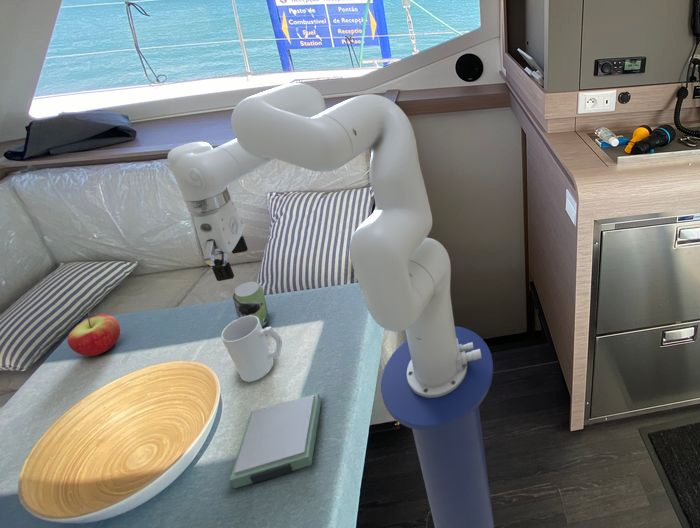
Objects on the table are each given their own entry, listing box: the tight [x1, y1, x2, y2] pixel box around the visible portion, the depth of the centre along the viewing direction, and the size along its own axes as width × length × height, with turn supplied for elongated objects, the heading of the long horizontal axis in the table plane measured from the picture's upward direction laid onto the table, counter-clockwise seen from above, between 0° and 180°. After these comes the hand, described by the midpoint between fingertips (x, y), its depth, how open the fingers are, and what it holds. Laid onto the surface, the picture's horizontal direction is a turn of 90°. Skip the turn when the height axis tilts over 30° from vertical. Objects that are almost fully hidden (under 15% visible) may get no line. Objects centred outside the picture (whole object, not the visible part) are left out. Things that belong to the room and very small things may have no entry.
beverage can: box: [232, 280, 269, 328], centre depth 99 cm, size 6×7×12 cm
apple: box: [67, 310, 121, 357], centre depth 95 cm, size 8×8×10 cm
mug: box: [220, 315, 283, 383], centre depth 87 cm, size 10×7×12 cm, turn 98°
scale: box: [229, 393, 322, 489], centre depth 75 cm, size 12×12×3 cm
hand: (233, 264), depth 94 cm, fingers open, 9 cm apart
